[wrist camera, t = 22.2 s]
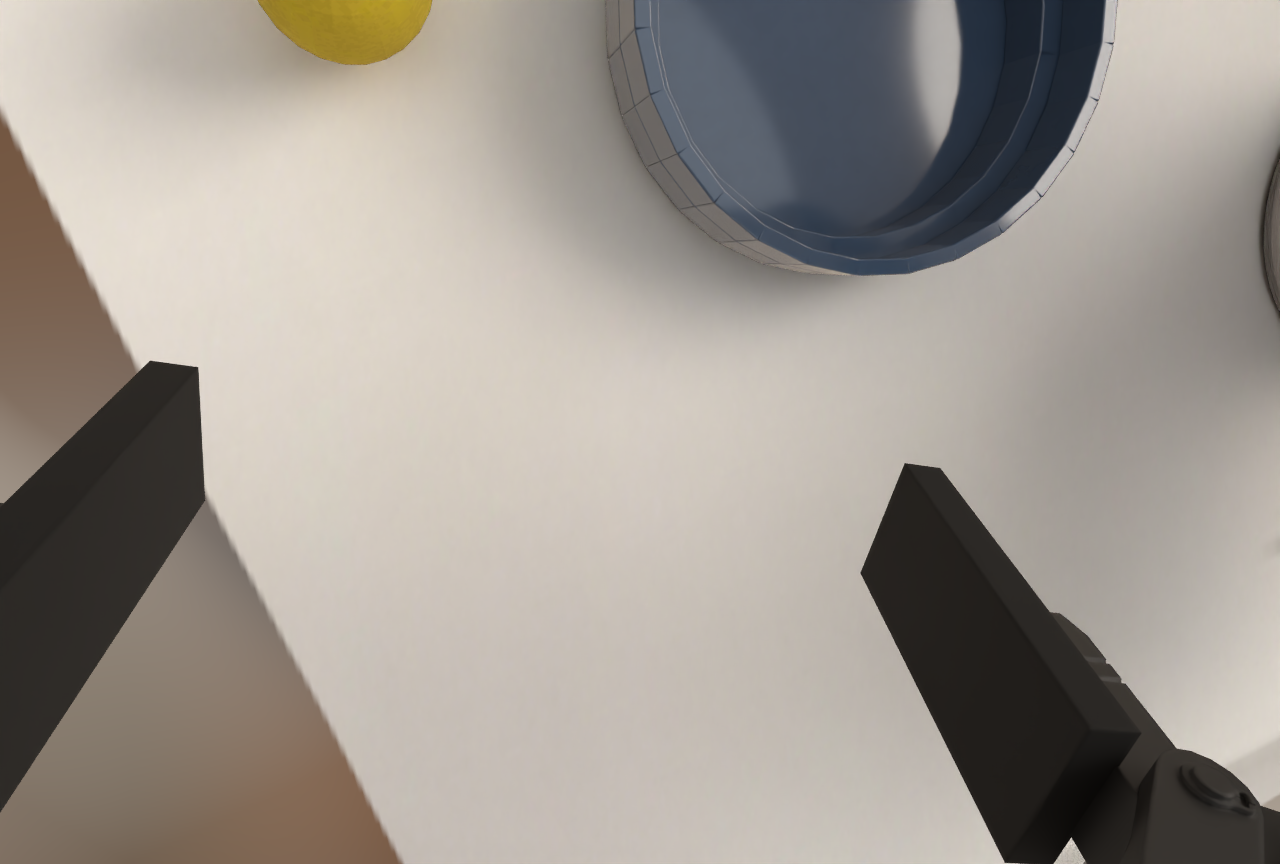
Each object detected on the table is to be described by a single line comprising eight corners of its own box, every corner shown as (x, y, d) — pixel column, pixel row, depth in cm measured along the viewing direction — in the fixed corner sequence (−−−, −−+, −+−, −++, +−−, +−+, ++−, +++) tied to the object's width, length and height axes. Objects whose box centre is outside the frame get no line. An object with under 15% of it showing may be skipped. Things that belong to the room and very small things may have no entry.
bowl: (940, -305, 32) (1024, -398, 27) (1083, 151, 37) (1174, 136, 33) (515, -101, 30) (530, -166, 25) (729, 350, 35) (773, 364, 31)
